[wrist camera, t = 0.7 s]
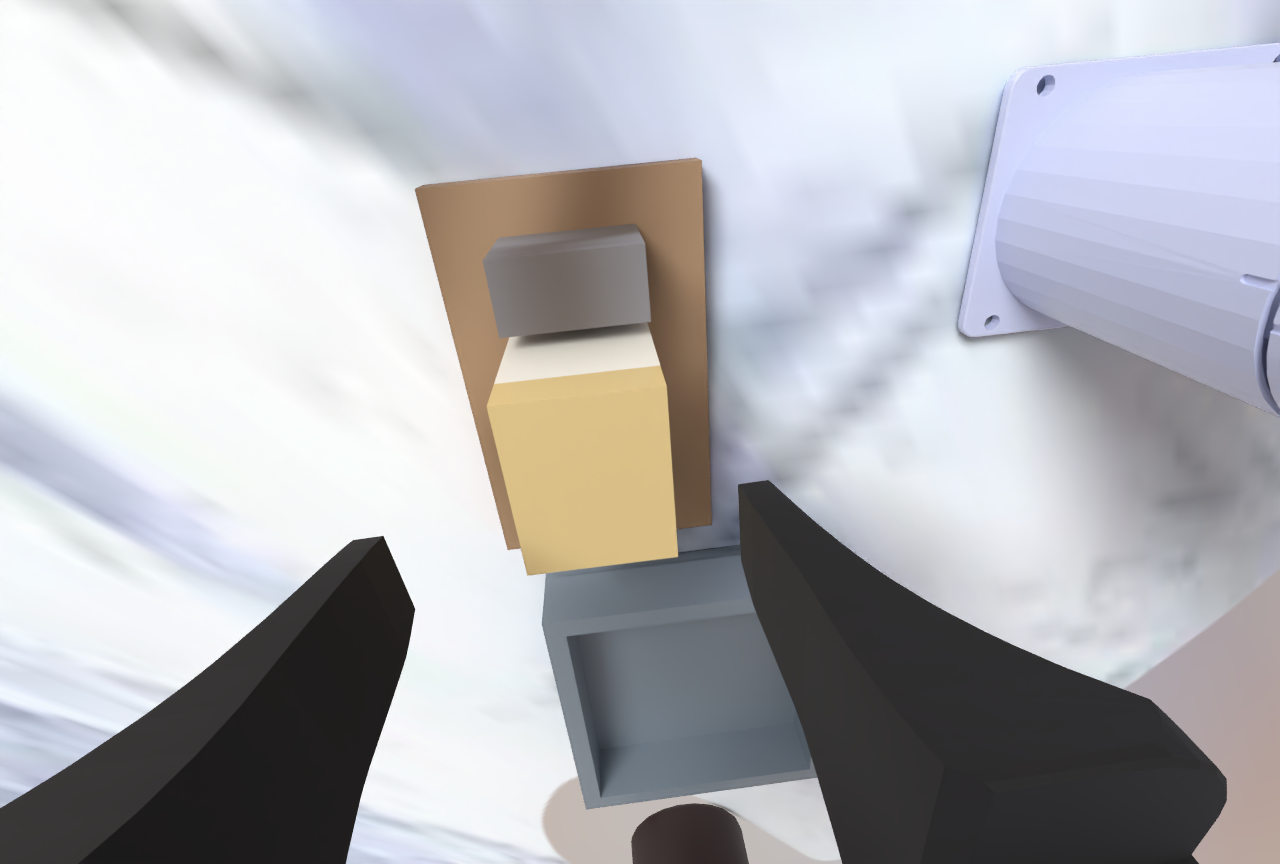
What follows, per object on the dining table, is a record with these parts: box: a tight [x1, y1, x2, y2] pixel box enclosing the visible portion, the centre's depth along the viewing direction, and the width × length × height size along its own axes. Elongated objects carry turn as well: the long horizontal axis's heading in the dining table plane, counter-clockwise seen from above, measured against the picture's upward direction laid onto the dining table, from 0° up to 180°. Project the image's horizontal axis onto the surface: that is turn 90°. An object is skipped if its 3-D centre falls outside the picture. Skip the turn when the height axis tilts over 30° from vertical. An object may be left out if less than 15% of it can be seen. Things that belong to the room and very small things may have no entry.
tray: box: [542, 545, 817, 809], centre depth 26 cm, size 12×13×3 cm
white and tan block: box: [487, 322, 678, 576], centre depth 16 cm, size 4×5×6 cm
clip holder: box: [415, 158, 712, 550], centre depth 18 cm, size 8×13×4 cm, turn 5°
